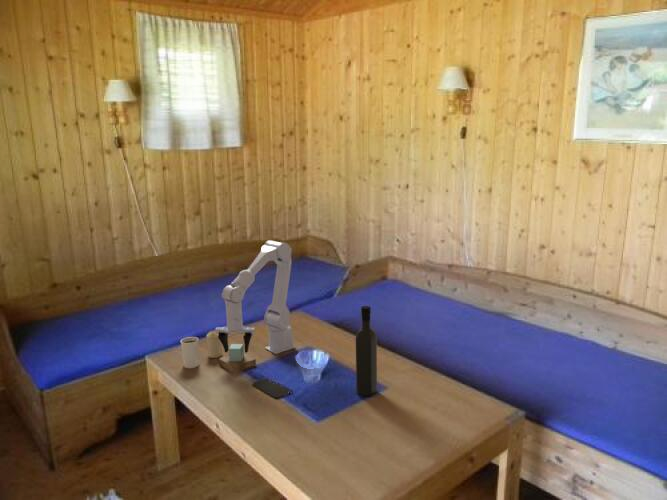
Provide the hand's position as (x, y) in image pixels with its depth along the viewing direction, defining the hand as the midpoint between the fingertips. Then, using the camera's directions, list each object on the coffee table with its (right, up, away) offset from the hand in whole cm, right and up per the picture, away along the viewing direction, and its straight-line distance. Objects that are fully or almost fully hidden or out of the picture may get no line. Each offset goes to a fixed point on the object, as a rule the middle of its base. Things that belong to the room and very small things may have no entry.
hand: (236, 351), depth 206 cm
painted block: (0, -3, +1) cm, 3 cm away
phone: (+15, -10, -18) cm, 26 cm away
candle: (-10, -4, +11) cm, 15 cm away
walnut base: (0, -6, +1) cm, 6 cm away
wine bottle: (+48, -10, -23) cm, 54 cm away
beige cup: (-18, -6, +2) cm, 18 cm away
